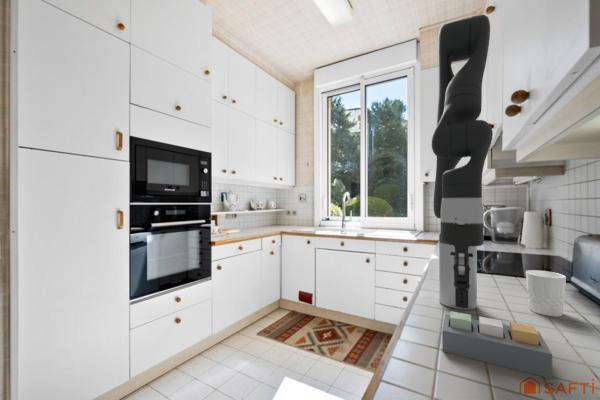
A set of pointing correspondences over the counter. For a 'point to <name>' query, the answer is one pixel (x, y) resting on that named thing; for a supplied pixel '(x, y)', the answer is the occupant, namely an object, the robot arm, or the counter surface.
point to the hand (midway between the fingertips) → (461, 306)
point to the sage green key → (460, 321)
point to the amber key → (524, 333)
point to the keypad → (498, 349)
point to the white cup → (545, 292)
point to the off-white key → (491, 327)
